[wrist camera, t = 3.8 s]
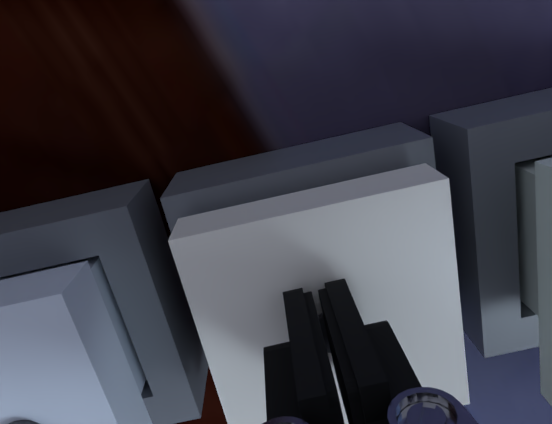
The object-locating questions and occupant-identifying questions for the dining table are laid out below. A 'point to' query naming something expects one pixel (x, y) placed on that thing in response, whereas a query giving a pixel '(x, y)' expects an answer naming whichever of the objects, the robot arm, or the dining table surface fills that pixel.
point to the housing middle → (295, 169)
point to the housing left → (122, 282)
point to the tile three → (536, 253)
